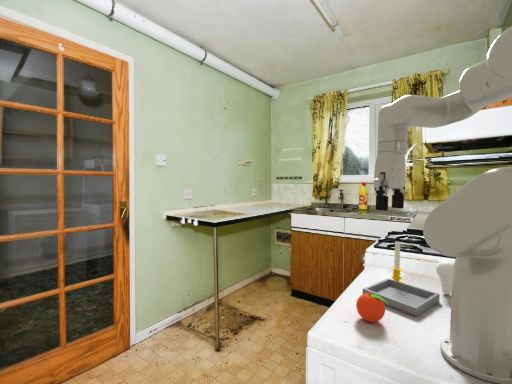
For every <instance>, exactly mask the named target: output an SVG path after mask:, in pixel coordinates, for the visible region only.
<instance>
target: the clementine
mask: <svg viewBox="0 0 512 384" xmlns="http://www.w3.org/2000/svg"><path fill="white" fill-rule="evenodd" d="M382 300H383V301H385V300H384V299H383V298H381V297H380V296H377V295H375V294H372V293H365V294H363V293H362V294H361V295H359V297H358V298H357V300H356V304H355V307H356V311H357V313H358V315H359V316H360V318H362V319H363V320H364V321H367V322H369V323H377V322H380V321H381V320H382V319H383V318H384V316H385V313H386V308H385V307H386V306H385V305H384V303H383V301H382ZM385 302H386V301H385ZM386 303H387V302H386ZM387 304H388V303H387ZM388 306H389V305H388ZM388 306H387V307H388Z"/></svg>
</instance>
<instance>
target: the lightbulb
mask: <svg viewBox="0 0 512 384" xmlns="http://www.w3.org/2000/svg"><path fill="white" fill-rule="evenodd" d="M453 266H454V262H453V261H450V260H442V261H440V262H438V263H437V264H436V267H435V271H436V273H437V275H438V277H439V279H440V285H441V292H442V293H444V295H445V296H449V295H452V274H453Z"/></svg>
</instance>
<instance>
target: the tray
mask: <svg viewBox="0 0 512 384" xmlns="http://www.w3.org/2000/svg"><path fill="white" fill-rule="evenodd" d="M392 279H393V278H386V279H384V280H383V279H382V280H381V281H378V282H376V283H373V284H371V285H368V286H365V287H363V288H362V295H363V294H365V293H372V294H375V295H377V296H380V297H381V298H383V299H384V300H385V301H386V302H387V303H388V304H387V303H386V302H385V301H383V300H382V301H383V303H384V306H385V305H386V306H385V307H388V308H390V309H393V310H395V311H398V312H401V313H403V314H406V315H409V316H411V317H413V318H417V317H419V316H420V315H422V314H424V313H425V312H427V311H428V310H430V309H431V308H432V307H434V306H436V305H437V304H439V303H440V297H441V296H440V293H439V292H438V293H437V292H435V291H431V290H428V289H424V288H421V287H418V286H415V285H412V284H408V283H405V282H404V283H402V282H403V281H402V282H399V281H395V280H392ZM388 305H389V306H388Z"/></svg>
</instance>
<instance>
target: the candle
mask: <svg viewBox="0 0 512 384" xmlns="http://www.w3.org/2000/svg"><path fill="white" fill-rule="evenodd" d="M400 266H401V242H400V241H398V240H397V241H396V240H395V243H394V266H391V267H390V269H391V270H392V274H391V279H392V280H395V281H399V282H402V283H405V282H404V281H402V276H401V272H402V271H403V270H404V269H403V268H402V267H400Z"/></svg>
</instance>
